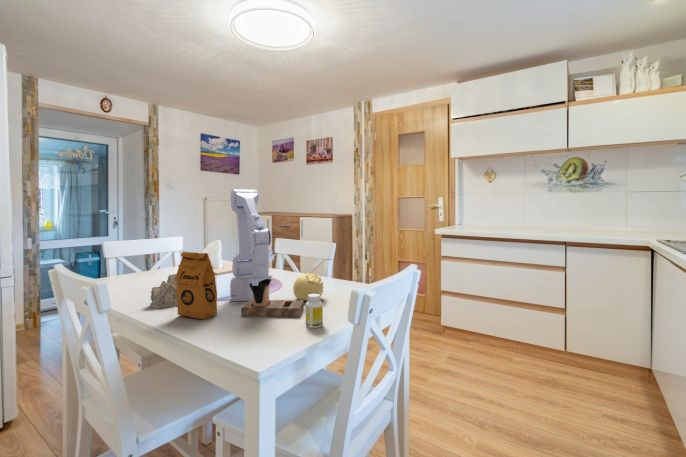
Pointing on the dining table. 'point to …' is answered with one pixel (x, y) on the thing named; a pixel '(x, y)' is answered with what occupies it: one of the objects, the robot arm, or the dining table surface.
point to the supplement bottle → (314, 311)
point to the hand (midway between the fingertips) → (260, 301)
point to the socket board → (274, 308)
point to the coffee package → (196, 286)
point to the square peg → (265, 298)
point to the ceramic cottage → (165, 294)
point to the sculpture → (307, 286)
